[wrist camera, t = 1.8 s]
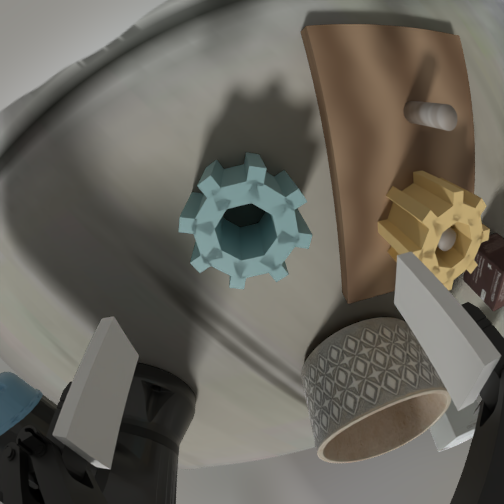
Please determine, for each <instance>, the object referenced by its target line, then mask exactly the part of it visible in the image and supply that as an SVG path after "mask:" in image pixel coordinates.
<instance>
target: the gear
mask: <svg viewBox="0 0 504 504" xmlns="http://www.w3.org/2000/svg"><path fill="white" fill-rule="evenodd" d="M266 169H267V168H266V166H265V165H264V163H263V161H262V159H261V157H260V155H259V154H254V153H248V152H246V155H245V161H244V164H243V165H239V166H235V167H231V168H227V169H224V168H223V167H222V166H221V165H220V163H219V162H218V161H217V160H215V161H214V162H213V163H211V164H210V165H209V166H207V167H206V169H205V171H204V173H203V175H202V177H201V179H200V181H199V183H198V185H197V186H198V187H199V189H200V190H201V191H202V192H203V193H204V194H203V193H195V192H192V193H191V195H190V197H189V199H188V201H187V203H186V205H185V207H184V209H183V211H182V213H181V216H180V220H179V232H182V233H190V234H194V237H195V240H196V242H195V246H194V250H193V253H192V257H191V261H190V263H191V264H192V265H193V267H194V268H195V269H196V270H197V271H198V272H199V273H201V272H203V271H204V270H205V269H207V268H208V267H210V266H212V267H214V268H216V269H218V270H220V271H222V272H224V273H226V274H228V275H230V287H229V288H237V289H244V286H245V281H246V278H248V277H252V276H257V275H261V274H265V273H269V274H270V275H271V276H272V277H273V279H274V280H275V281H276V282H277V281H279V280H281V279H282V278H284V277H285V276H287V275H289V274H288V271H287V267H286V264H285V259H286V258H287V257H288V255H289V254H290V253H291V251H292V250H293V249H294V247H300V248H308V249H309V246H310V242H311V238H312V233H311V231H310V230H309V228H308V226H307V224H306V223H305V221H304V219H303V217H302V216H301V214H300V212H299V211H298V209H297V208H298V207H300V206H301V205H303V204H304V203H306V202H307V200H306V199H305V197H304V196H303V194H302V193H301V191H300V190H299V188H298V187H297V186H296V184H295V183H294V182H293V181H292V179H291V178H290V177H289V175H288V174H287V173H286V171H285V170H283V171H282V172H280V173H279V174H277V175H276V176H272V175H271V174H269V173H267V172H266ZM250 203H252V204H254V205H256V206H257V207H259V208H261V209H263V210H264V211H266V212H265V214H264V215H263V217H262V218H261V220H260V221H259V223H257V224H253V225H249V226H244V227H238V226H236V225H235V224H233V223H231V222H229V221H227V220H225V219H224V217H223V214H224V213H225V211H226V210H227V209H229V208H233V207H237V206H241V205H246V204H250Z"/></svg>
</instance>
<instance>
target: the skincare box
mask: <svg viewBox="0 0 504 504" xmlns="http://www.w3.org/2000/svg"><path fill="white" fill-rule="evenodd" d="M478 405H479V404H478V403H477V400H475V401H474V403H472V404H470V405H468V406H467V407H465V408H463V409H461V410H459V411H458V410H457V408H456V406H455V404H454V402H453V400H452V399H451V403H450V405H449V407H448V409H447V410H446V412H445V413H444V414H443V416H442V417H441V418H440V419H439V420H438V421H437V422H436V423H435V424H434V425H433V426H431V427H430V431H431V434H432V436H433V439H434V442H435V444H436V447H437V450H438V452H440V451H443V450H446V449H448V448H451V447H454V446H456V445H458V444H460V443H462V442H465V441H466V440H468V439H470V438H472V437H473V435H474V431H475V427H476V423H477V418H478V413H479V411H478V412H477V414H476V415H473V414H474V411H475V409H476V408H477V407H478Z"/></svg>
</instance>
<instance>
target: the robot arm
mask: <svg viewBox="0 0 504 504" xmlns="http://www.w3.org/2000/svg"><path fill="white" fill-rule="evenodd" d="M394 304H395V306H396V307H397V309H398V310H399V312H400V313H401V315H402V316H403V318H404V319H405V321H406V322H407V324H408V326H409V327H410V329H411V330H412V332H413V333H414V335H415V337H416V338H417V340H418V341H419V343H420V345H421V346H422V348H423V350H424V351H425V353H426V354H427V356H428V358H429V359H430V361H431V363H432V365H433V366H434V368H435V370H436V371H437V373H438V375H439V377H440V378H441V380H442V382H443V384H444V386H445V387H446V389H447V391H448V393H449V395H450V397H451V398H452V400H453V402H454V404H455V406H456V408H457V410H458V411H459V410H461V409H463V408H465V407H467V406H468V405H470V404H472V403H474V401H475V400H476V398H477V396H478V395H479V394H480V396H481V397H482V401H481V402H480V404H479V405H478V407H477V408H476V409H475V411H474V414H473V415H476V414H477V412H478V411H479V413H478V418H477V423H476V427H475V431H474V435H473V439H472V443H471V446H470V450H469V453H468V456H467V460H466V463H465V466H464V469H463V472H462V475H461V478H460V480H459V483H458V485H457V488H456V491H455V493H454V496H453V498H452V500H451V503H450V504H504V338H503V337H502V336H501V334H500V333H499V332H498V331H497V329H496V328H495V327H494V326H492V323H491V322H490V321H489V320H488V318H487V319H486V316H485V315H484V314H483V313H482V312H481V310H480V309H479V308H478V307H476V306H474V305H473V304H471V303H469V302H467V303H465V304H462V305H461V304H460V303H459V302H458V301H457V300H456V299H455V297H454V296H453V295H452V294H451V293H450V292H449V291H448V289H447V288H446V287H445V286H444V285H443V284H442V283H441V282H440V281H439V280H438V279H437V277H436V276H435V275H434V274H433V273H432V272H431V271H430V270H429V269H428V268H427V267H426V266H425V265H424V264H423V263H422V262H421V261H420V260H419V259H418V258H417V257H416V256H415V255H414V254H413V253H412V252H407V253H404V254H400V255H397V268H396V284H395V296H394ZM138 358H139V355H138V353H137V352H136V350H135V349H134V347H133V346H132V344H131V343H130V341H129V340H128V338H127V336H126V335H125V333H124V332H123V330H122V329H121V327H120V325H119V324H118V322H117V320H116V319H115V317H114V316H113V317H107V318H102V319H101V321H100V323H99V325H98V327H97V329H96V331H95V333H94V335H93V337H92V339H91V341H90V343H89V346H88V348H87V350H86V352H85V354H84V356H83V359H82V361H81V363H80V365H79V368H78V370H77V372H76V375H75V377H74V379H73V382H70V383H69V384H68V385H67V387H66V388H65V389H64V391H63V393H62V395H61V398H60V402H59V403H58V405H56V404H55V403H53V402H52V401H51V400H49V399H48V398H46V397H45V396H44V395H43V394H42V393H41V391H40V390H38V389H34V388H33V387H32V386H30V385H29V384H27V383H26V382H25V381H23V380H22V379H21V378H19V377H18V376H17V375H15V374H14V373H11V372H3V373H1V374H0V504H176V487H177V469H178V454H179V445H180V443H181V441H182V439H183V437H184V435H185V433H186V431H187V429H188V427H189V425H190V423H191V421H192V419H193V417H194V414H195V404H196V399H195V395H194V393H193V392H192V390H191V389H190V388H189V387H188V386H187V385H186V384H185V383H184V382H183V381H181V380H180V379H179V378H177V377H175V376H174V375H172V374H170V373H168V372H166V371H163V370H161V369H158V368H155V367H152V366H148V365H144V364H138V363H137V361H138Z"/></svg>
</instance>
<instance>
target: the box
mask: <svg viewBox="0 0 504 504" xmlns="http://www.w3.org/2000/svg"><path fill="white" fill-rule="evenodd" d="M474 261H475V262H476V263H477V264H478V265H477V267H476V268H475V269H474V271H473V272H472V273H471V274H470V273H469V272H468V271H467V270H465V272H464V278H463V279H464V281H465V282H466V283H467V284H468V285H469V286H470V287H471V288H472V290H474V292H475V293H476V294H477V295H478V296H479V297H480V298H481V299H482V300H483V301H484V302H485V303H486V304H487V305H488V306H489V307H490V308H491V309H492V311H495V310H497V309H499V308H501V307H502V306H504V238H503V237H502V236H500V235H499V234H497V233H495V234H492V235H489V239H488V240H487V241H485V242H482V243H481V244H480V247H479V249H478V252H477V254H476V256H475V259H474Z"/></svg>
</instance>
